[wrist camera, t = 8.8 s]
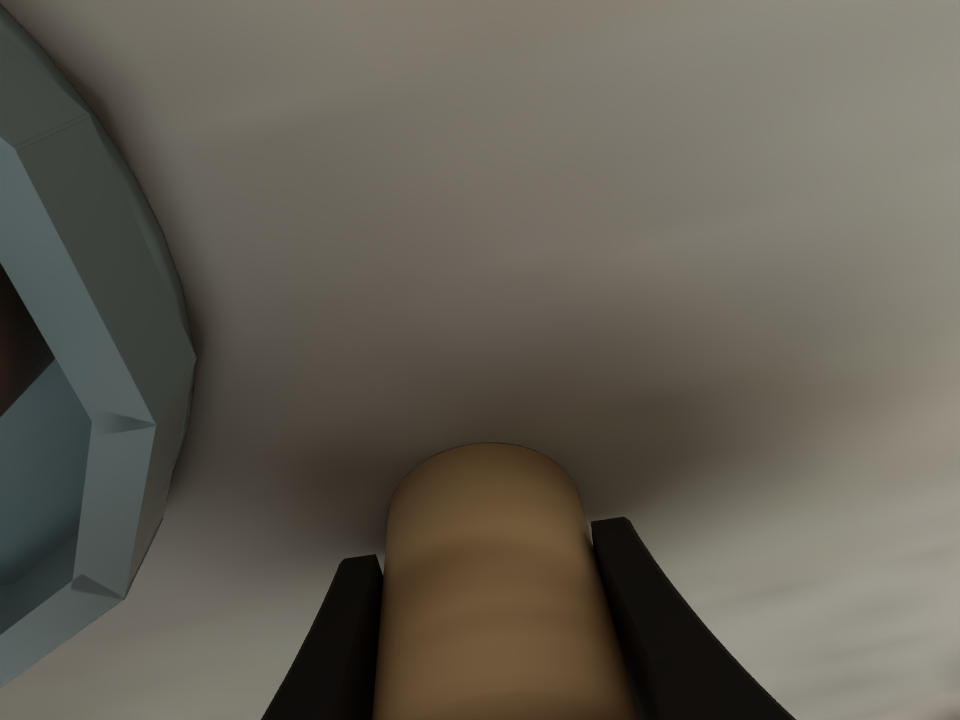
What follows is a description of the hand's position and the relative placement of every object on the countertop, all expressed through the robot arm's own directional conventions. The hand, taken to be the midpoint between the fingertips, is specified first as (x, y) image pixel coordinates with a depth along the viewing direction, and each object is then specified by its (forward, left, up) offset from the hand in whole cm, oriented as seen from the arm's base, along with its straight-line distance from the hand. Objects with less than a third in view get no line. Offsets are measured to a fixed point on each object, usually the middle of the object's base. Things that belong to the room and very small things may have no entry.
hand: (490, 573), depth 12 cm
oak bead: (0, 0, -1) cm, 1 cm away
